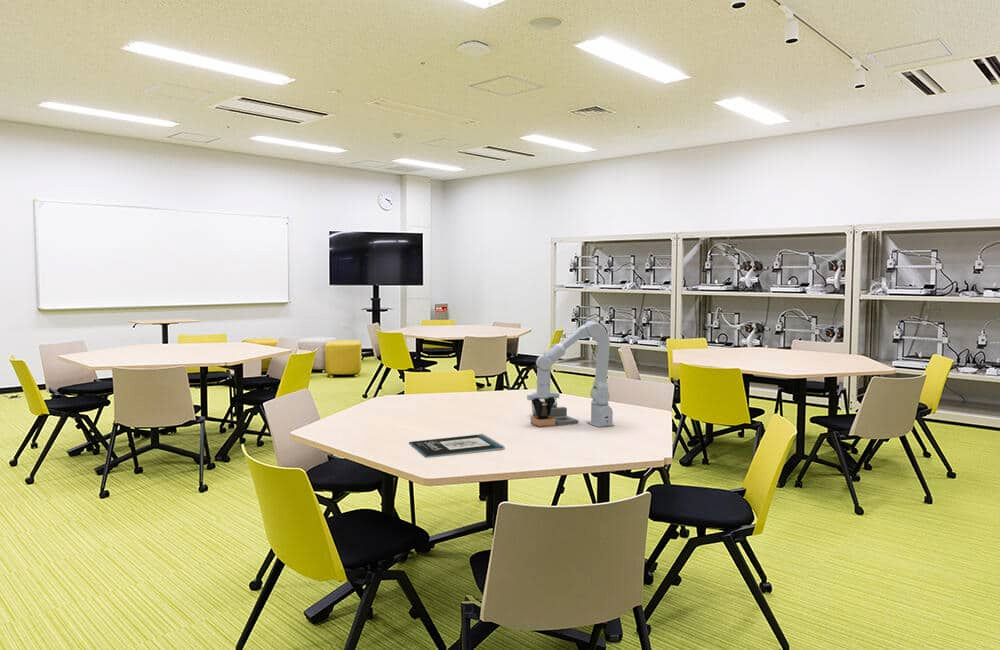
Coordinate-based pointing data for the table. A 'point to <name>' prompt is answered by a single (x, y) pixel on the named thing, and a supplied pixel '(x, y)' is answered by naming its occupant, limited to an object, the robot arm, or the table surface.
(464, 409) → the table surface
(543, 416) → the battery cell
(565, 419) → the grey rectangular holed block
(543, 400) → the light bulb box
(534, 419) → the tray
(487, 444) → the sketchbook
